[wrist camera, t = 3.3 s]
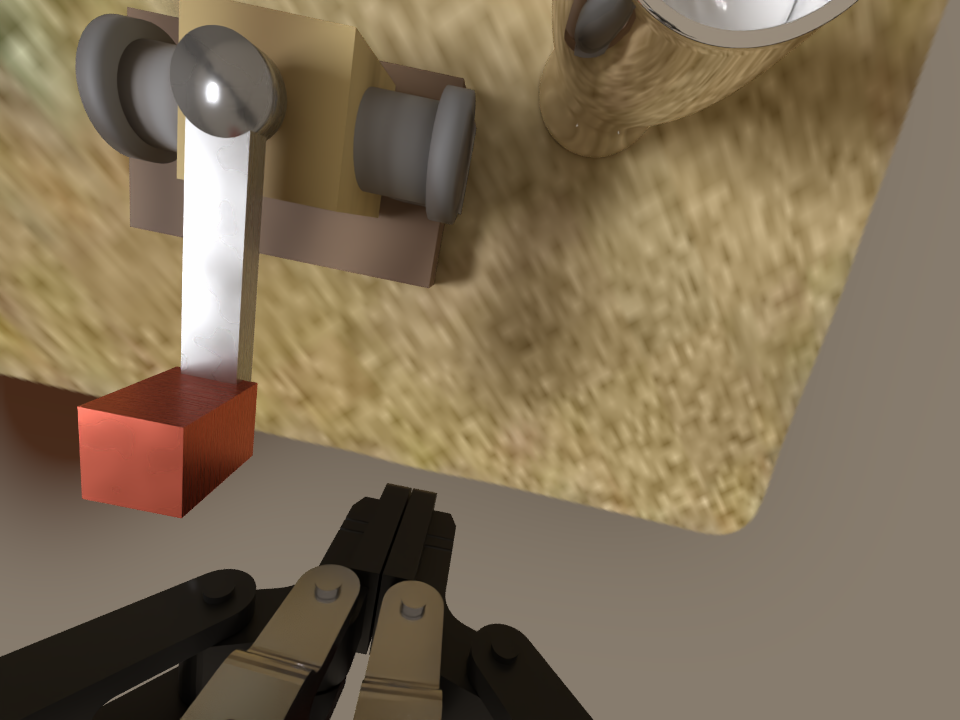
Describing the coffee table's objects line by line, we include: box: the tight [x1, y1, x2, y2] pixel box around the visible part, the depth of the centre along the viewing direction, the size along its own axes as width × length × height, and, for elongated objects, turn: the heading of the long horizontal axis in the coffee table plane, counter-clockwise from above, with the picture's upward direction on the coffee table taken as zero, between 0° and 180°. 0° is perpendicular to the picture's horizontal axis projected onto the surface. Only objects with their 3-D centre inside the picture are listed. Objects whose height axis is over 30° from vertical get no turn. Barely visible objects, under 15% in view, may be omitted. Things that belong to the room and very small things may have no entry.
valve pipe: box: [76, 0, 476, 288], centre depth 20 cm, size 17×10×10 cm, turn 79°
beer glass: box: [539, 0, 858, 158], centre depth 16 cm, size 7×7×15 cm
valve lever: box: [78, 25, 287, 518], centre depth 14 cm, size 14×3×5 cm, turn 168°
